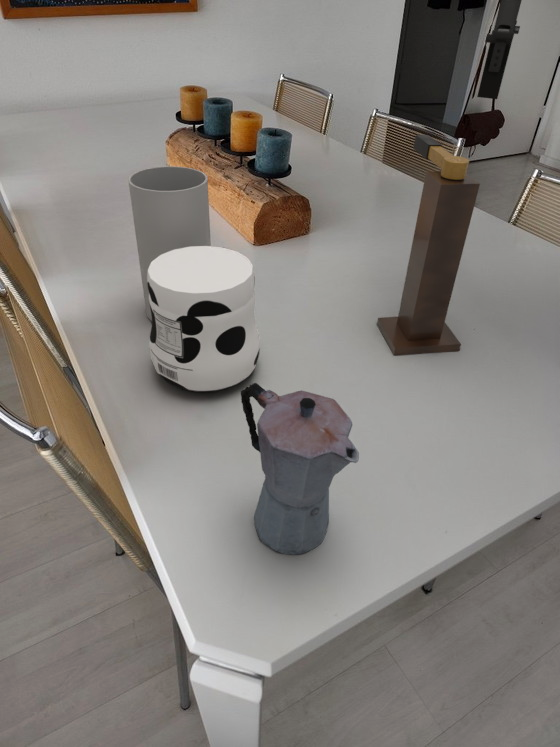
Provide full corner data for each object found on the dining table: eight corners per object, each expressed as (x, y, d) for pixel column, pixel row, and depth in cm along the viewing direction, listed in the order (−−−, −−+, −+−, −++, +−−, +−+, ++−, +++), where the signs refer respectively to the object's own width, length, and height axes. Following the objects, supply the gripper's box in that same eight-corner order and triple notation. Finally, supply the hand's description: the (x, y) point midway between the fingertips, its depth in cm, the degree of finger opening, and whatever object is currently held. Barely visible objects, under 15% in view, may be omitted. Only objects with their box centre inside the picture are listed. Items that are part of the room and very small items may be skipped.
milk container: (258, 338, 96) (260, 243, 85) (260, 402, 82) (262, 298, 72) (160, 338, 95) (148, 241, 84) (145, 402, 81) (129, 297, 71)
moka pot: (318, 588, 58) (336, 459, 46) (213, 515, 66) (204, 386, 53) (363, 530, 65) (389, 402, 52) (262, 469, 72) (264, 344, 60)
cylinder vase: (137, 326, 98) (116, 187, 83) (158, 293, 108) (143, 163, 93) (204, 333, 97) (196, 194, 82) (220, 299, 107) (215, 169, 91)
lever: (429, 149, 92) (432, 134, 90) (469, 179, 80) (473, 162, 78) (409, 149, 91) (411, 134, 90) (446, 180, 79) (449, 163, 78)
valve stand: (437, 320, 103) (475, 166, 86) (459, 351, 95) (505, 187, 78) (376, 324, 101) (402, 167, 84) (393, 355, 93) (426, 189, 76)
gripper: (508, -92, 78) (471, 74, 91) (501, -110, 60) (455, 102, 73) (564, -90, 76) (517, 79, 89) (575, -109, 58) (514, 108, 71)
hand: (489, 89), depth 81 cm, fingers open, 13 cm apart
